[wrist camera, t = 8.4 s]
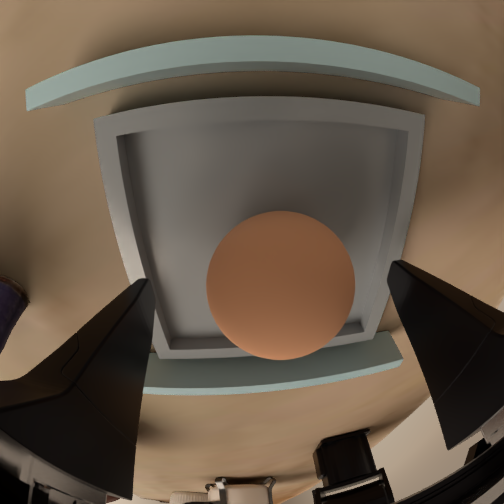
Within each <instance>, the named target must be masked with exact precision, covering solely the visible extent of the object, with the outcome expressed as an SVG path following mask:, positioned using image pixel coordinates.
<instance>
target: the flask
mask: <svg viewBox="0 0 504 504" xmlns="http://www.w3.org/2000/svg"><path fill="white" fill-rule="evenodd" d="M28 303H30V301H29V300H28V297H27V295H26V293H25V290H24V289H23V288H22V287H21V285H20V284H18V283H16V282H15V281H14V280H12V279H10V278H8V277H5V276H0V354H1V352H2V350H3V349H4V347H5V344H6V342H7V339H8V337H9V335H10V333H11V331H12V329H13V327H14V326H15V325H16V322H17V321H18V319H19V318H20V316H21V314H22V313H23V312H24V310H25V309H26V307H27V306H28Z"/></svg>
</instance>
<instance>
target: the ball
mask: <svg viewBox="0 0 504 504" xmlns="http://www.w3.org/2000/svg"><path fill="white" fill-rule="evenodd" d="M206 293H207V300H208V304H209V308H210V311H211V314H212V316H213V318H214V320H215V322H216V324H217V325H218V327H219V328H220V330H221V331H222V332H223V334H224V335H225V336H226V337H227V338H228V339H229V340H230V341H231V342H232V343H234V344H235V345H236V346H238V347H239V348H240V349H242V350H244V351H246V352H248V353H250V354H252V355H255V356H258V357H261V358H266V359H271V360H289V359H295V358H299V357H303V356H306V355H308V354H311V353H313V352H315V351H317V350H319V349H320V348H322V347H323V346H325V345H326V344H327V343H328V342H329V341H330V340H332V339H333V338H334V337H335V336H336V335H337V333H338V332H339V331H340V330H341V328H342V327H343V325H344V324H345V322H346V320H347V318H348V316H349V314H350V311H351V308H352V305H353V301H354V296H355V275H354V268H353V265H352V262H351V259H350V256H349V254H348V252H347V250H346V248H345V247H344V245H343V243H342V242H341V241H340V239H339V238H338V237H337V236H336V235H335V234H334V232H333V231H331V230H330V229H329V228H328V227H327V226H325V225H324V224H322V223H321V222H319V221H318V220H316V219H314V218H312V217H309V216H307V215H304V214H300V213H296V212H290V211H272V212H266V213H262V214H258V215H255V216H253V217H250V218H248V219H246V220H244V221H243V222H241V223H240V224H238V225H237V226H235V227H234V228H233V229H232V230H231V231H230V232H228V234H227V235H226V236H225V237H224V238H223V239H222V240H221V242H220V243H219V245H218V246H217V248H216V249H215V252H214V254H213V256H212V258H211V261H210V263H209V267H208V272H207V278H206Z"/></svg>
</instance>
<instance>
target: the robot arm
mask: <svg viewBox="0 0 504 504" xmlns="http://www.w3.org/2000/svg"><path fill="white" fill-rule="evenodd" d="M387 285H388V287H389V290H390V293H391V295H392V298H393V301H394V304H395V307H396V309H397V312H398V315H399V317H400V320H401V322H402V324H403V326H404V328H405V331H406V333H407V335H408V338H409V340H410V342H411V345H412V347H413V349H414V352H415V354H416V357H417V359H418V362H419V364H420V367H421V369H422V372H423V375H424V377H425V380H426V383H427V386H428V388H429V391H430V394H431V397H432V400H433V403H434V406H435V409H436V412H437V416H438V419H439V422H440V426H441V429H442V432H443V436H444V440H445V443H446V447H447V450H450V449H452V448H454V447H455V446H457V445H459V444H460V443H462V442H464V441H465V440H467V439H468V438H470V437H472V436H473V435H475V434H476V433H478V432H479V431H481V432H482V434H483V436H484V438H483V439H482V440H480V441H479V442H477V443H476V444H475V445H473V446H472V447H470V448H469V451H468V455H467V458H466V461H465V464H464V466H463V467H461V468H460V469H458V470H457V471H455V472H453V473H452V474H450V475H448V476H447V477H445V478H443V479H441V480H440V481H438V482H436V483H434V484H433V485H431V486H429V487H427V488H425V489H423V490H421V491H419V492H417V493H415V494H412V495H410V496H408V497H406V498H404V499H401V500H399V501H397V502H395V501H394V497H393V493H392V490H391V487H390V485H389V481H388V478H387V476H386V473H385V470H384V468H381V469H379V470H377V469H376V466H375V463H374V459H373V456H372V453H371V449H370V446H369V443H368V440H367V437H366V436H367V435H368V434H369V433H370V429H366V430H362V431H359V432H355V433H351V434H347V435H343V436H339V437H335V438H330V439H325V440H322V441H321V442H320V443H319V445H318V447H317V448H316V450H315V451H314V453H313V459H314V464H315V469H316V474H317V478H318V479H319V480H320V479H322V481H323V486H324V487H323V488H316V489H315V490H313V491H312V493H313V498H314V504H504V312H502V311H500V310H498V309H496V308H494V307H492V306H490V305H488V304H486V303H484V302H482V301H480V300H478V299H477V298H475V297H473V296H471V295H469V294H467V293H466V292H464V291H462V290H460V289H458V288H456V287H454V286H453V285H451V284H449V283H447V282H445V281H443V280H441V279H439V278H437V277H435V276H433V275H431V274H429V273H427V272H426V271H424V270H422V269H420V268H418V267H416V266H413V265H411V264H409V263H407V262H405V261H403V260H394V261H392V263H391V265H390V269H389V272H388V276H387ZM155 306H156V297H155V293H154V290H153V287H152V283H151V281H150V279H149V278H139V279H137V280H136V281H135V282H134V283H133V284H131V285H130V286H129V287H128V288H127V289H125V290H124V291H123V292H122V293H121V294H119V295H118V296H117V297H116V298H115V299H114V300H112V301H111V302H110V303H109V304H108V305H107V306H105V307H104V308H103V309H102V310H101V311H100V312H99V313H97V314H96V315H95V316H94V317H93V318H92V319H91V320H89V321H88V322H87V323H86V324H85V325H84V326H83V327H82V328H80V329H79V330H78V331H77V333H75V334H74V335H73V336H72V337H70V338H69V339H68V340H67V341H66V342H65V343H64V344H63V345H61V346H60V347H59V348H58V349H57V350H56V351H54V352H53V353H52V354H51V355H49V356H48V357H47V358H46V359H44V360H43V361H42V362H41V363H39V364H38V365H37V366H36V367H34V368H33V369H32V370H31V371H29V372H28V373H27V374H26V375H24V376H22V377H21V378H18V379H15V380H8V381H0V504H106V500H107V495H110V496H114V497H118V498H123V499H127V500H132V496H133V478H134V464H135V453H136V446H135V445H136V441H137V432H138V424H139V416H140V409H141V402H142V395H143V389H144V383H145V377H146V371H147V365H148V360H149V354H150V349H151V344H152V338H153V327H154V316H155ZM377 477H379V480H377V481H374V482H372V483H369V484H366V485H363V486H360V487H357V488H354V489H351V490H347V491H344V492H341V493H337V494H333V495H329V496H326V495H325V494H326V493H330V492H333V491H337V490H340V489H344V488H347V487H351V486H354V485H357V484H360V483H363V482H366V481H368V480H371V479H374V478H377Z"/></svg>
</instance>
